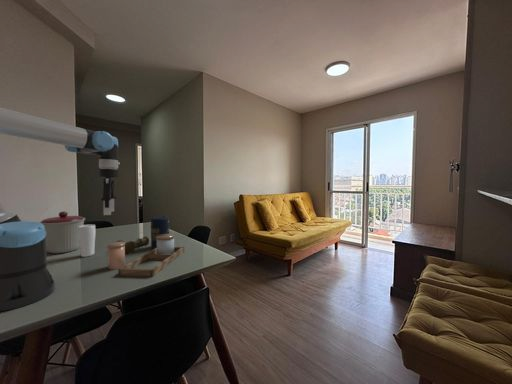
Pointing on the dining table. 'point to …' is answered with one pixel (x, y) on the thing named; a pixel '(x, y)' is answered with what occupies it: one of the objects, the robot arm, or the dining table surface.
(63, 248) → the canister
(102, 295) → the dining table surface
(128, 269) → the caddy
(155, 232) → the canister
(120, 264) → the tan domed cylinder
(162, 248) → the white lidded jar
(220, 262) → the dining table surface
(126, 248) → the kendama
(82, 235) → the white tall cup
